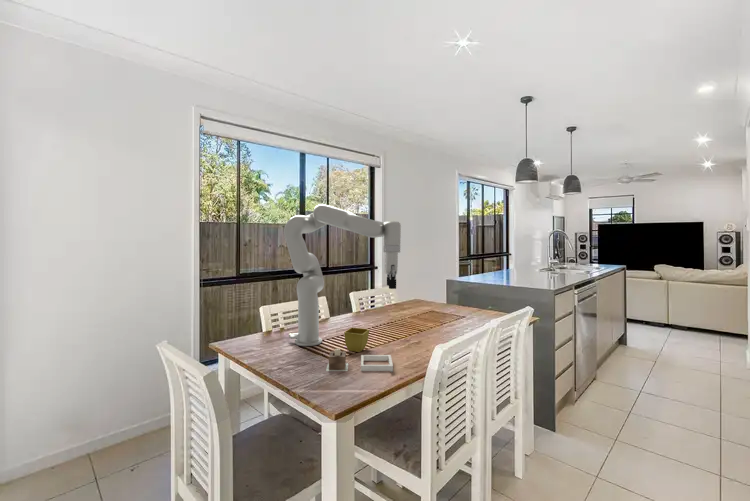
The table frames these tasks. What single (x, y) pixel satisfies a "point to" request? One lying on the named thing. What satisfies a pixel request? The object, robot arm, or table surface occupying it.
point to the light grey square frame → (376, 367)
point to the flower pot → (356, 339)
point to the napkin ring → (337, 361)
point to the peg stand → (337, 353)
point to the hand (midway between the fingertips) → (391, 287)
